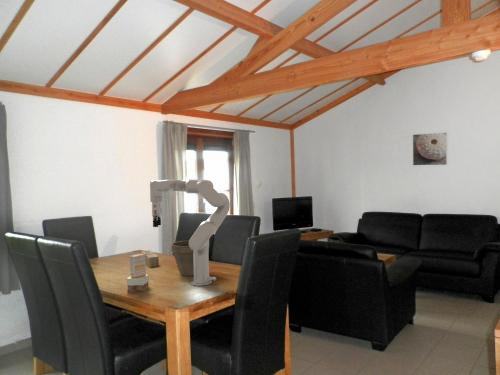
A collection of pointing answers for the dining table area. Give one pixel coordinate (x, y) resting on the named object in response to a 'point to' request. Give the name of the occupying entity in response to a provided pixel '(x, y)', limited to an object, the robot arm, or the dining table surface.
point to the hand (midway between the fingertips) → (157, 226)
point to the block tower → (151, 258)
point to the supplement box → (137, 265)
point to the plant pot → (183, 257)
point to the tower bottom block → (137, 287)
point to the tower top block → (138, 280)
